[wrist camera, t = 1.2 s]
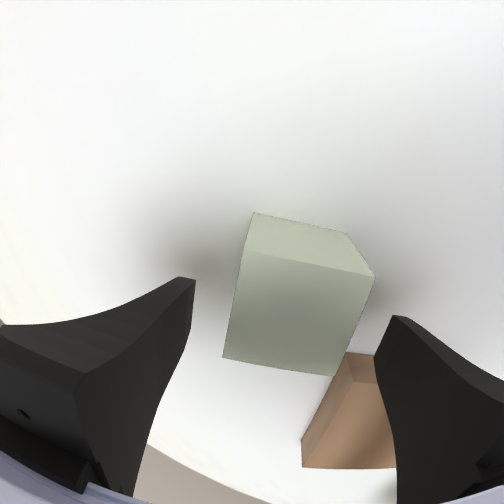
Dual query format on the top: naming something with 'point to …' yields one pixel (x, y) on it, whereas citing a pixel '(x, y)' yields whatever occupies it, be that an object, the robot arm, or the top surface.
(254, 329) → the sage block
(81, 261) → the top surface
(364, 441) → the brown square block
